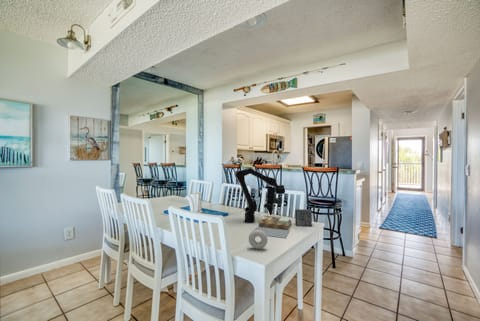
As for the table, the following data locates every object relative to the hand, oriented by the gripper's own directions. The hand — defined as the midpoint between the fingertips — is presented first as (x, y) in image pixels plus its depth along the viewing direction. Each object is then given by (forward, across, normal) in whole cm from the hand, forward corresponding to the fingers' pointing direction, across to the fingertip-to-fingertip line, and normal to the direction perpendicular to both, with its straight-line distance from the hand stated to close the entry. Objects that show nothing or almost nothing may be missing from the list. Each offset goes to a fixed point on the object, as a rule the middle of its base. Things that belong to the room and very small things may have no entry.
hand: (270, 215), depth 173 cm
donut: (+4, -54, -6) cm, 55 cm away
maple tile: (+1, -11, 0) cm, 11 cm away
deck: (+4, -12, -6) cm, 14 cm away
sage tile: (+1, -11, -12) cm, 16 cm away
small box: (+4, -3, -24) cm, 25 cm away
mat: (+4, -27, -6) cm, 28 cm away
